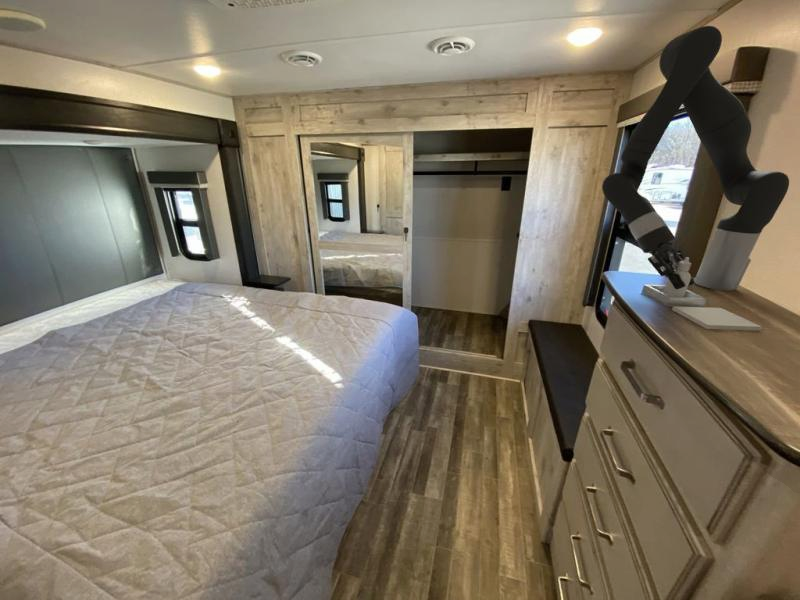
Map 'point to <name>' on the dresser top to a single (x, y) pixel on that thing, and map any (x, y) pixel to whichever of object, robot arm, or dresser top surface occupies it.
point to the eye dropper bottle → (685, 276)
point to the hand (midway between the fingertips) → (685, 286)
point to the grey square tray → (686, 301)
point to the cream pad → (716, 318)
